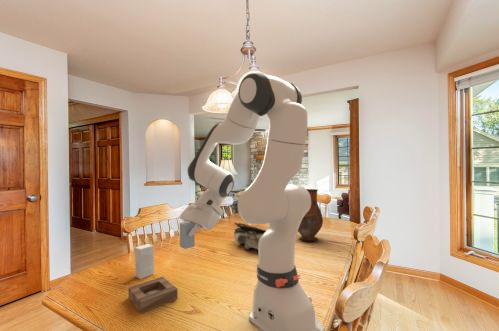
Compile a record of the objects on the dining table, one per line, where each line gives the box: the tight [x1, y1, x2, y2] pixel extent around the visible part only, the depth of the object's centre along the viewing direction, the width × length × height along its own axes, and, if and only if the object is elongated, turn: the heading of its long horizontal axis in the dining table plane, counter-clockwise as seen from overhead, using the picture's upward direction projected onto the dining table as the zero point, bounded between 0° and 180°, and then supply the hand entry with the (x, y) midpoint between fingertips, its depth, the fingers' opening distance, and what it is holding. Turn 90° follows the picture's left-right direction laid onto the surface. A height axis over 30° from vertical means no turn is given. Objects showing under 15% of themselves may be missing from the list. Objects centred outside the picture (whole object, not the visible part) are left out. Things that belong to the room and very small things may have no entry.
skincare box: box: [134, 243, 155, 280], centre depth 102 cm, size 6×4×12 cm
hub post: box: [179, 221, 196, 250], centre depth 95 cm, size 4×4×9 cm
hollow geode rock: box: [233, 222, 267, 250], centre depth 134 cm, size 28×13×15 cm
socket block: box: [128, 276, 178, 314], centre depth 85 cm, size 12×12×4 cm
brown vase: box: [297, 188, 324, 243], centre depth 146 cm, size 17×21×30 cm
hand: (185, 233), depth 94 cm, fingers closed on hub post, 4 cm apart
